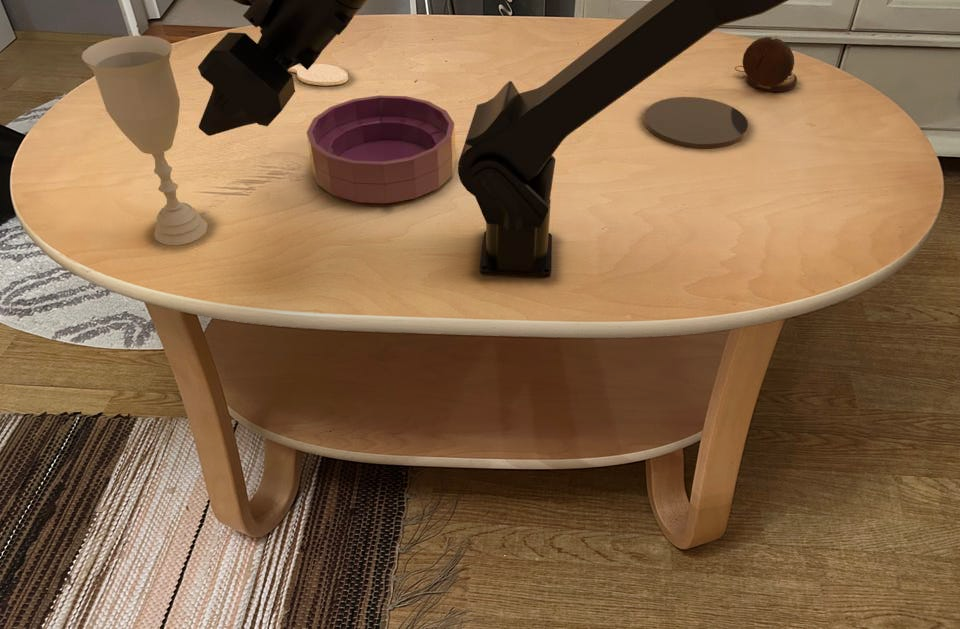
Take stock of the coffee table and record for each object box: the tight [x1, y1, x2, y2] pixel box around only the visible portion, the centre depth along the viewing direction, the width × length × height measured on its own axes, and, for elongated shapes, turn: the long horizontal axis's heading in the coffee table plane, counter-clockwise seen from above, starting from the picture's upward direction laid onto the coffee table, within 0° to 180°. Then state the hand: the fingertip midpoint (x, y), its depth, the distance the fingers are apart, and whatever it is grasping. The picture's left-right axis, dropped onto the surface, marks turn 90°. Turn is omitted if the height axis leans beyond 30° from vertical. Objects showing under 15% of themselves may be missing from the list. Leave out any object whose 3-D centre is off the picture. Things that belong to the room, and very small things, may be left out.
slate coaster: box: [643, 96, 749, 149], centre depth 94 cm, size 12×12×1 cm
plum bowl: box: [306, 94, 456, 204], centre depth 85 cm, size 15×15×5 cm
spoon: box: [288, 63, 349, 86], centre depth 106 cm, size 5×18×1 cm, turn 62°
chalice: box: [81, 35, 209, 246], centre depth 72 cm, size 7×7×18 cm
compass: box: [734, 35, 798, 92], centre depth 100 cm, size 8×8×7 cm
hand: (225, 105), depth 68 cm, fingers open, 9 cm apart
